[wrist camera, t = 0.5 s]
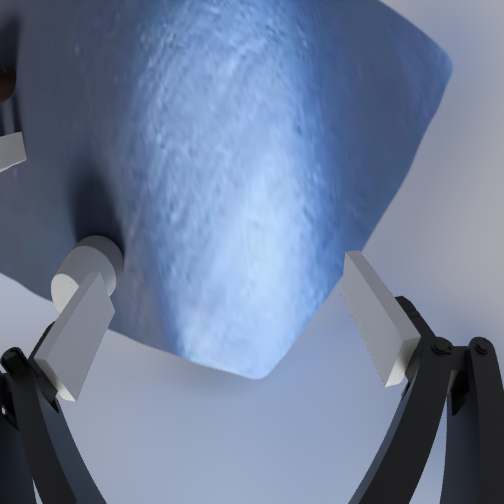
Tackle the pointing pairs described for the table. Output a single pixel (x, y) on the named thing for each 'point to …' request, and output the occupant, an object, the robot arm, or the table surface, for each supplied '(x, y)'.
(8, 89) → the coffee mug
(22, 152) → the tile
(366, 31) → the table surface
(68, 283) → the smart speaker
